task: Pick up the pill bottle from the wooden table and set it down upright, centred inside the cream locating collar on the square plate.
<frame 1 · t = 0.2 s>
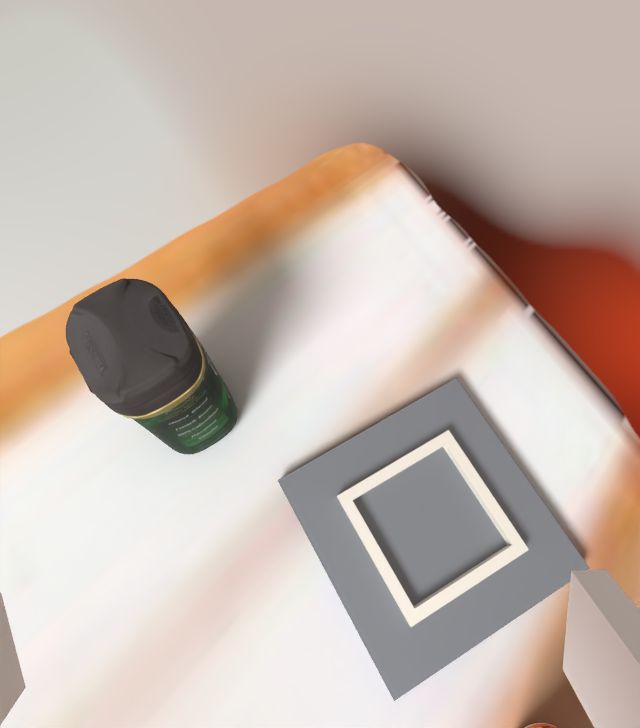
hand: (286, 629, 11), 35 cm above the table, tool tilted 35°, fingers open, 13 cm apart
locating plate: (425, 523, 46), on the table
coffee jar: (193, 406, 50), on the table
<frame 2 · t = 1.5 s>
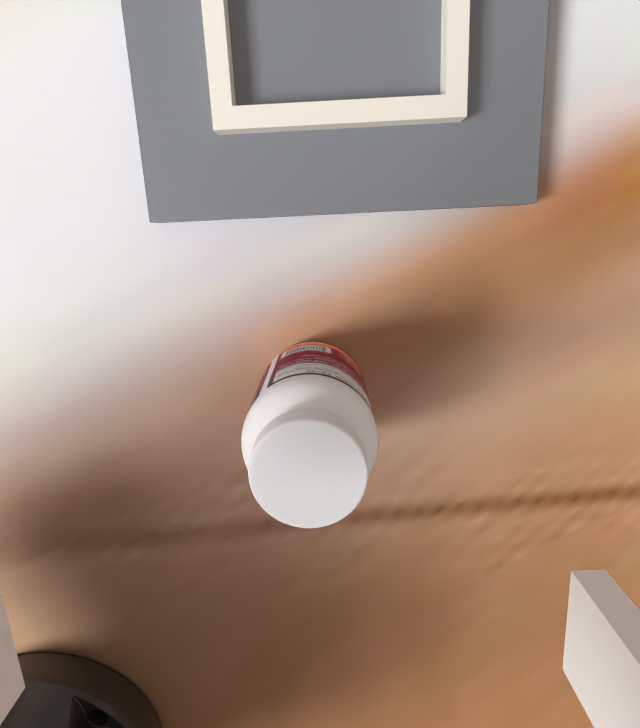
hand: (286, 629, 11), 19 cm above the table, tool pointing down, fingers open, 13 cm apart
pill bottle: (313, 388, 30), on the table
locating plate: (333, 2, 24), on the table
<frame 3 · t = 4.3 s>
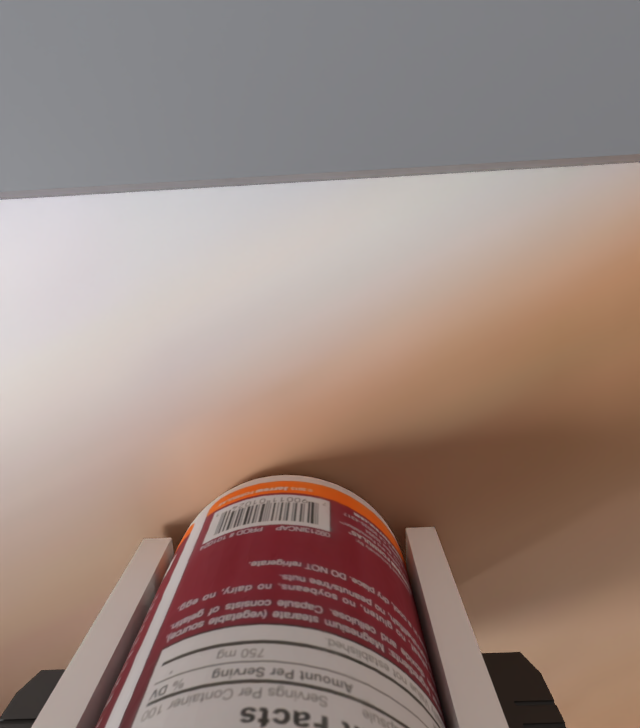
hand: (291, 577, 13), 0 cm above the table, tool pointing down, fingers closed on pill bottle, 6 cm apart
pill bottle: (293, 562, 14), on the table, touching gripper
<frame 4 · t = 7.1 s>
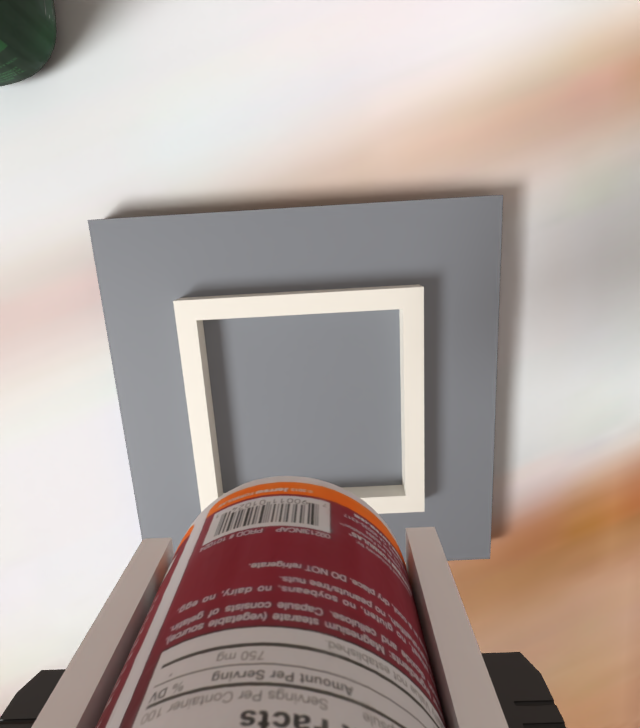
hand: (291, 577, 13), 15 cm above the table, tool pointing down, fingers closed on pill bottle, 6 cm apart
pill bottle: (293, 563, 14), point 14 cm above the table, touching gripper
locating plate: (307, 395, 28), on the table
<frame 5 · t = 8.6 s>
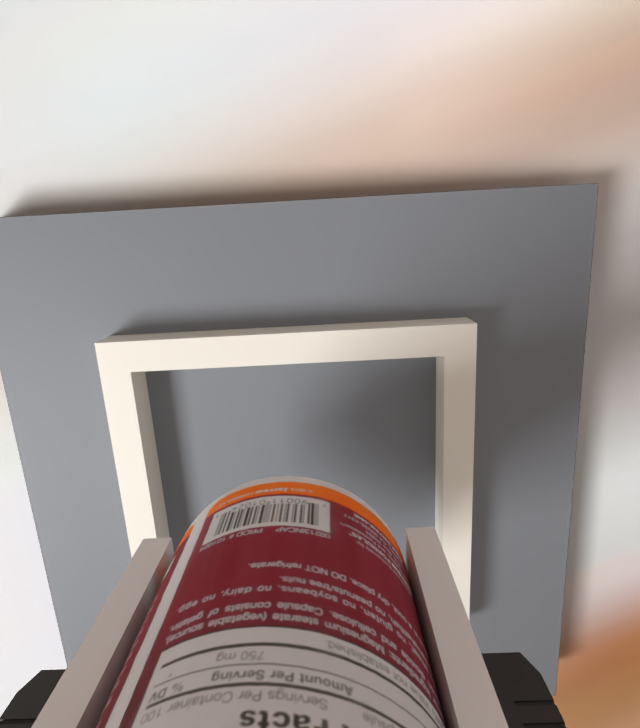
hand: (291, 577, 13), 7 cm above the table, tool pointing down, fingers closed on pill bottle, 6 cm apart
pill bottle: (293, 563, 14), point 6 cm above the table, touching gripper
locating plate: (300, 468, 20), on the table
when the fingers open (3 cm above the table, at t = 10.0 s): pill bottle drops 1 cm, resting on locating plate.
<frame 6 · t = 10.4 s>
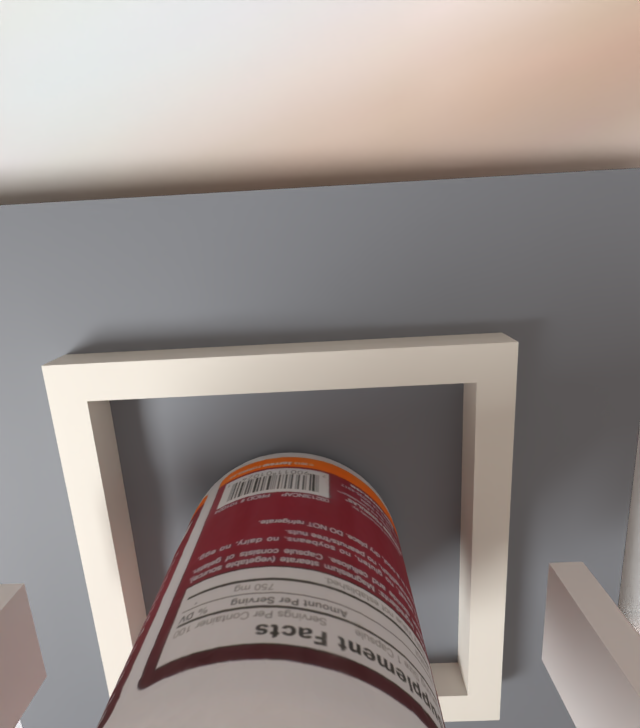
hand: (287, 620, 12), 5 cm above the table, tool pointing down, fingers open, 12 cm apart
pill bottle: (295, 533, 15), point 1 cm above the table, touching locating plate
locating plate: (298, 508, 17), on the table
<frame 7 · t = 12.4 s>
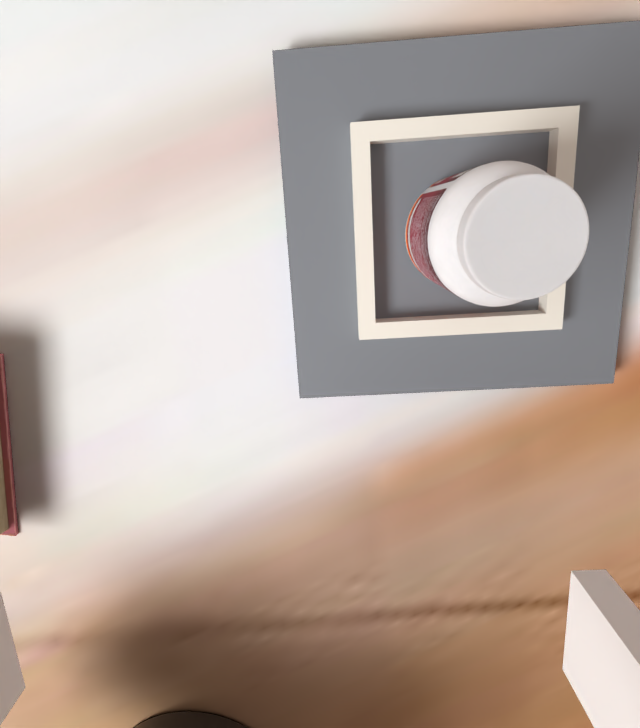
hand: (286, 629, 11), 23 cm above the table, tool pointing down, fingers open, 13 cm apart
pill bottle: (455, 231, 29), point 1 cm above the table, touching locating plate
locating plate: (451, 229, 30), on the table
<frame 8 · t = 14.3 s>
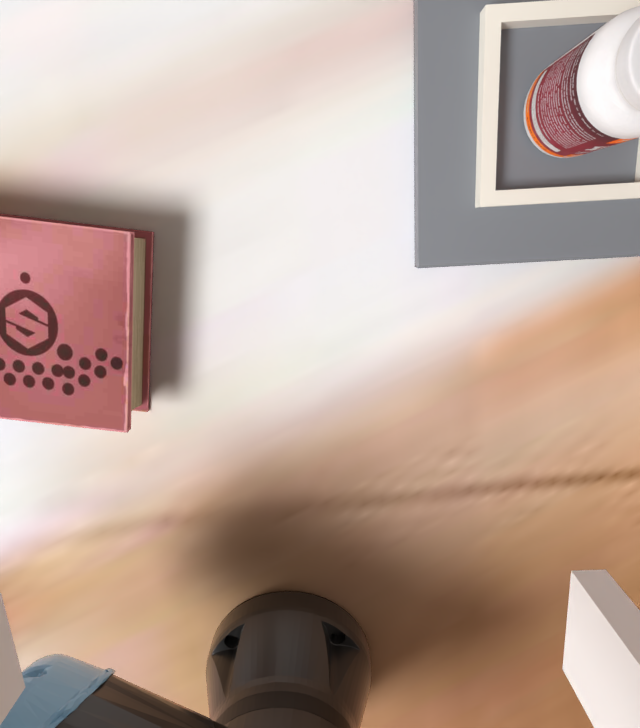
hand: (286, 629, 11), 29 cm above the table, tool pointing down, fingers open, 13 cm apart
book: (58, 313, 39), on the table
pill bottle: (565, 110, 33), point 1 cm above the table, touching locating plate
locating plate: (556, 114, 35), on the table
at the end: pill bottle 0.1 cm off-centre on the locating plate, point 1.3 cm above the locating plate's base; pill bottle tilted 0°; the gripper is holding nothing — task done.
